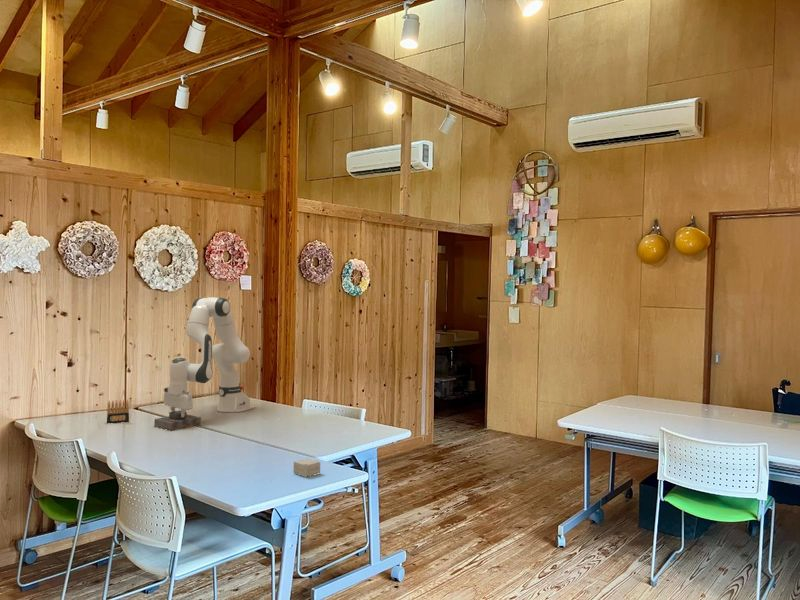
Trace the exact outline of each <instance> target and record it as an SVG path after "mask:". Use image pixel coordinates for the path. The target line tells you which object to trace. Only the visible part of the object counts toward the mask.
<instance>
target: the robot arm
mask: <svg viewBox="0 0 800 600" xmlns="http://www.w3.org/2000/svg"><path fill="white" fill-rule="evenodd" d="M210 318H213V319H212V320H213V325H214V329H215V334H216V335H215V336H216V338H217V339H218V340H219V341H221V342H222V343H215V344H214V345H213V339H212V336H211V335H210V334H209V326H210V325H209V324H210ZM185 329H186V330H185V333H186V335H187V337H188V338H189V339H190V340H191V341H193V342H196V344H199V346H200V348H201V359H200V360H201V361H200V363H193V362H189V361H188V360H187V359H186V358H183V357H179V358H174V359H173V360H171V362H170V365H169V379H170V380H169V381H170V382H169V386H166V387H163V392H164V393H163V404H164V406H165V407H166V406H167V407H170V412H174V411H176V408H177V409H180V410H181V411H182V412H181V414H180V417H184V415H185V412H187V411H190V410H193V407H194V402H193V396H192V394H191V392H190V391H188V382H194V383H195V382H196V383H201V384H206V383H207V382H209V381H210V380H211V379H212V377H213V367H212V365H213V364H212V359H213V361H215V363H216V366H217V368H218V371H219V387H218V394H219V396H218V403H217V407H216V411H217V412H222V413H241V412H246V411H248V410H253V409H255V406H254V405H253V404H251V399H250V397H249V396H247V394H245V393H244V392H243V391H242V390H245V388H246V387H245V386H244V385H240V372H239V370H238V369H236V367H235V366H234V364H243V363H247V362H248V361H249V359H250V357H251V356H250V355H251V351H250V349H249V347H248V346H246V345H245V344H244V343H243V342H242V341H241V339H240V337H239V335H238V333H237V330H236V326H235V322H234V317H233V313H232V311H231V303H230V301H229V300H228V299H227V298H225V297H215V296H212V297H210V296H209V297H199V298H196V299H194V301H193V302H192V306H191V310H190V313H189V316H188V320H187V324H186V328H185Z"/></svg>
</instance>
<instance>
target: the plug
mask: <svg viewBox="0 0 800 600" xmlns="http://www.w3.org/2000/svg"><path fill="white" fill-rule="evenodd" d="M181 412H182V411H181V409H180V410H175V411H174V412H172V411H169V413H168V414H169V415H168V417H169V418H171V419H175V420H177V419H182V418H187V414H188V413H187V411H186V412H185V415H184V417H180V414H181Z"/></svg>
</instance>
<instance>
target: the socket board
mask: <svg viewBox="0 0 800 600" xmlns="http://www.w3.org/2000/svg"><path fill="white" fill-rule="evenodd" d="M201 420H202V418H201V417H200V416H196V415H192V414H188V413H187V418H182V419H177V420H175V419H171V418H169V416H166V417H164V416H163V417H159V418H154V422H153V423H154V424H153V425H154V428H157V427H158V429H161V428H162V430H165V429H167V430H166V431H169V430H170V431H169V432H172V430H173V431H178V430H183V429H187V427H188V428H191V427H197V426H201V425H202V422H201ZM182 428H183V429H182ZM177 429H178V430H177Z"/></svg>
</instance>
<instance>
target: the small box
mask: <svg viewBox="0 0 800 600" xmlns="http://www.w3.org/2000/svg"><path fill="white" fill-rule="evenodd" d="M292 470H293V472H292V473H296V474H299V475H302V476H305V477H307V476H310V475H314V474H317V473H320V474H321V461H319V460H315V459H312V458H303V459H299V460H296V461H293V469H292ZM296 474H295V475H296ZM299 475H298V476H299ZM302 476H301V477H302ZM314 476H315V475H314ZM305 477H304V478H305ZM307 478H308V477H307Z"/></svg>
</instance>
